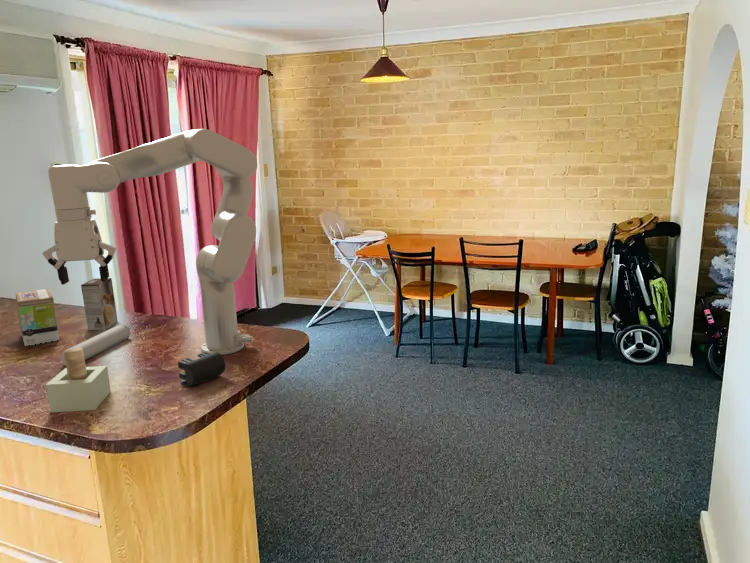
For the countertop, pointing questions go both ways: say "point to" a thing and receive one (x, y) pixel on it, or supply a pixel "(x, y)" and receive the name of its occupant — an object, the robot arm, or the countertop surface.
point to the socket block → (78, 390)
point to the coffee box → (99, 304)
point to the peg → (75, 364)
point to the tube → (102, 341)
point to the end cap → (201, 368)
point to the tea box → (37, 316)
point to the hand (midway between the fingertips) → (85, 281)
